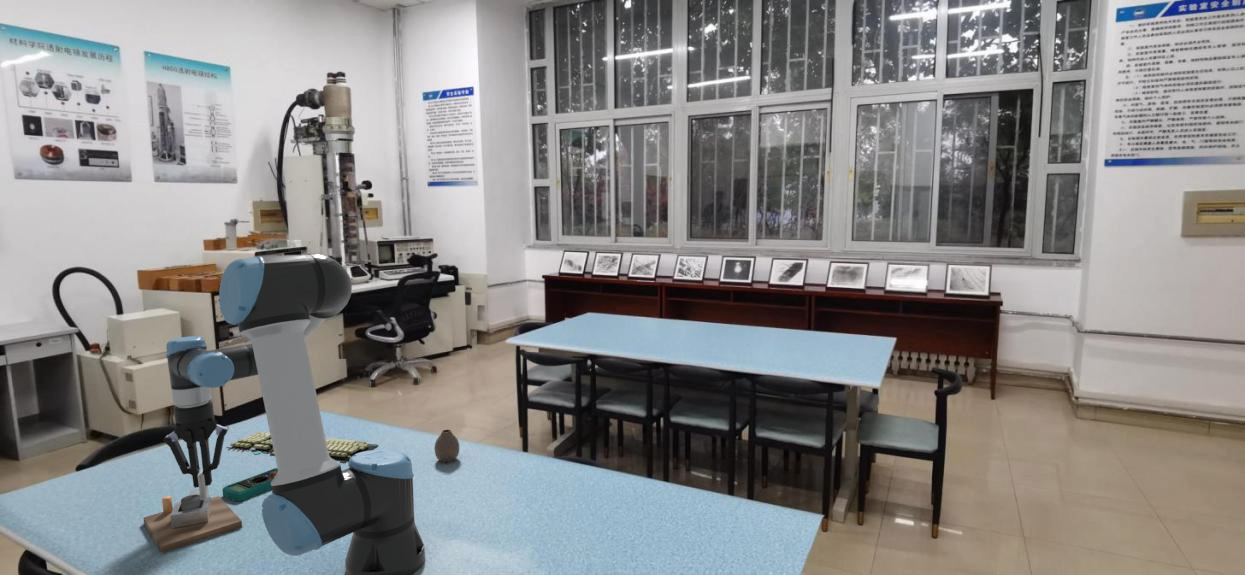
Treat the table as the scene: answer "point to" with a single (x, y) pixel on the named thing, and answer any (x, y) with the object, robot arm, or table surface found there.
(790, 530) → the table surface
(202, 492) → the robot arm
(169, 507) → the dowel pin
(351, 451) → the keyboard
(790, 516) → the table surface
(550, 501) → the table surface
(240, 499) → the digital multimeter
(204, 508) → the grey frame piece
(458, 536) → the table surface
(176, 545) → the board
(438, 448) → the vase
